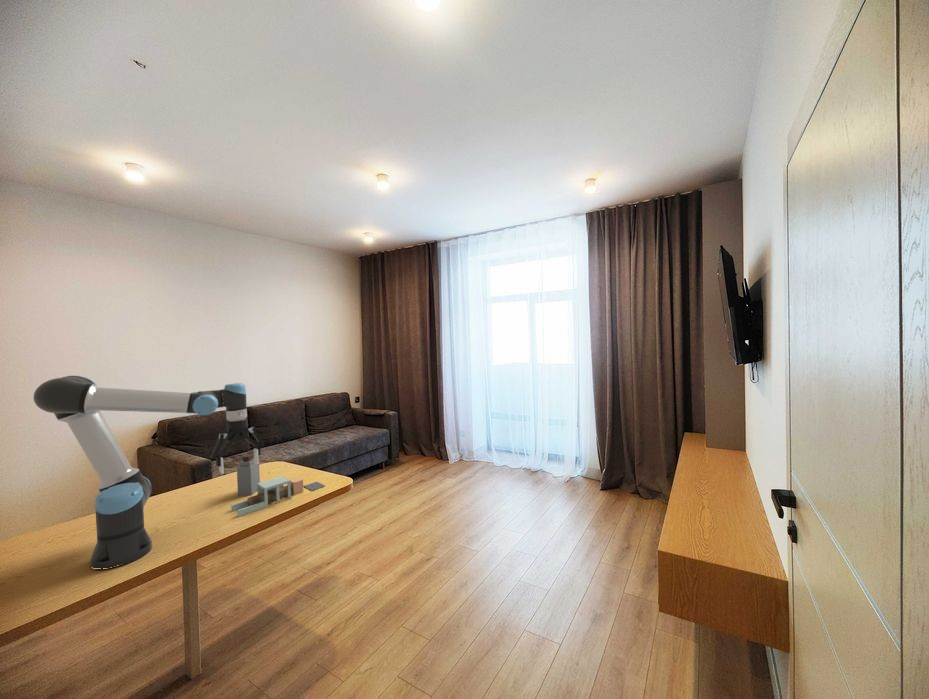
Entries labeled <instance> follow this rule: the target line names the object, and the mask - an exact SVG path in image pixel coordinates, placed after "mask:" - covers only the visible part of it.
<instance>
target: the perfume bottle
mask: <svg viewBox="0 0 929 699" xmlns="http://www.w3.org/2000/svg"><path fill="white" fill-rule="evenodd" d="M236 478H237V481H236V482H237V496H252V495H254V494H256V493H258V492H257V483H260V482H261V480H260V479H261V476H260V463H259V464H255V463H254V454H245V455H243V456H242V460H241V461H238V466H237V467H236Z"/></svg>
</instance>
